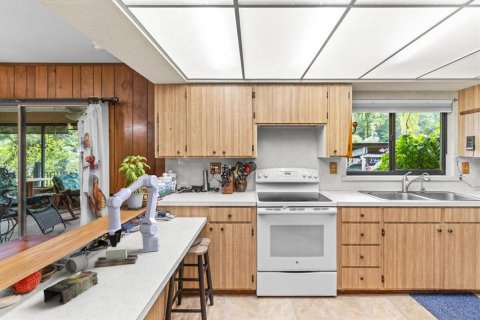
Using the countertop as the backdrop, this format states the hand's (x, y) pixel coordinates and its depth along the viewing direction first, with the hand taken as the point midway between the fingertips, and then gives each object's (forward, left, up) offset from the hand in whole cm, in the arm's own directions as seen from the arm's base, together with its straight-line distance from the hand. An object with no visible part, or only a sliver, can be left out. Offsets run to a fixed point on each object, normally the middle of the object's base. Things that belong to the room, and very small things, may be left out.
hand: (116, 244), depth 158 cm
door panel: (0, 0, -8) cm, 8 cm away
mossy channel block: (+10, +32, -10) cm, 35 cm away
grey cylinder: (+18, +7, -10) cm, 22 cm away
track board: (0, 0, -9) cm, 9 cm away
